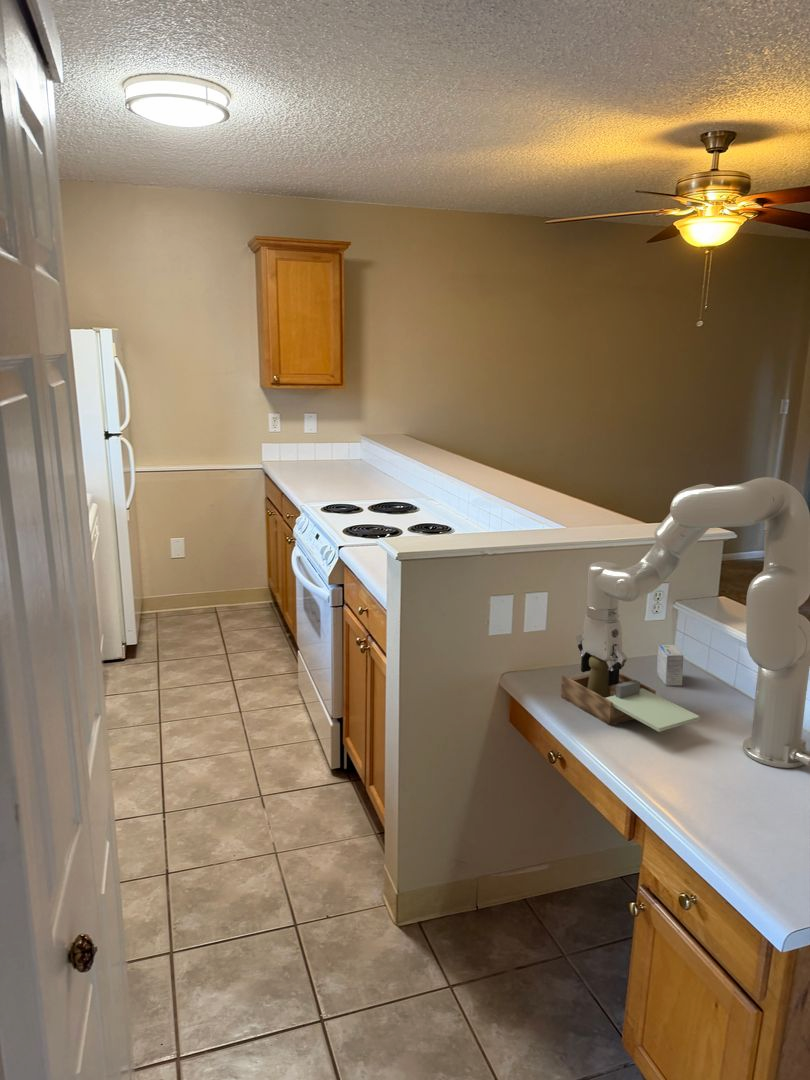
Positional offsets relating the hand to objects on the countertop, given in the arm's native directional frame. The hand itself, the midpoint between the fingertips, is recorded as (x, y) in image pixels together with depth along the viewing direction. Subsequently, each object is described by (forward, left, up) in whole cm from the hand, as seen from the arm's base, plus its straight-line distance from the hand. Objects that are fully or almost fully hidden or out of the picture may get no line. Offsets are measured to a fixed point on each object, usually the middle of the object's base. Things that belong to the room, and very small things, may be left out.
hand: (599, 677), depth 189 cm
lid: (-18, 0, -2) cm, 18 cm away
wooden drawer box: (-3, 0, -6) cm, 7 cm away
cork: (0, 0, -6) cm, 6 cm away
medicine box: (+1, -25, -6) cm, 26 cm away
